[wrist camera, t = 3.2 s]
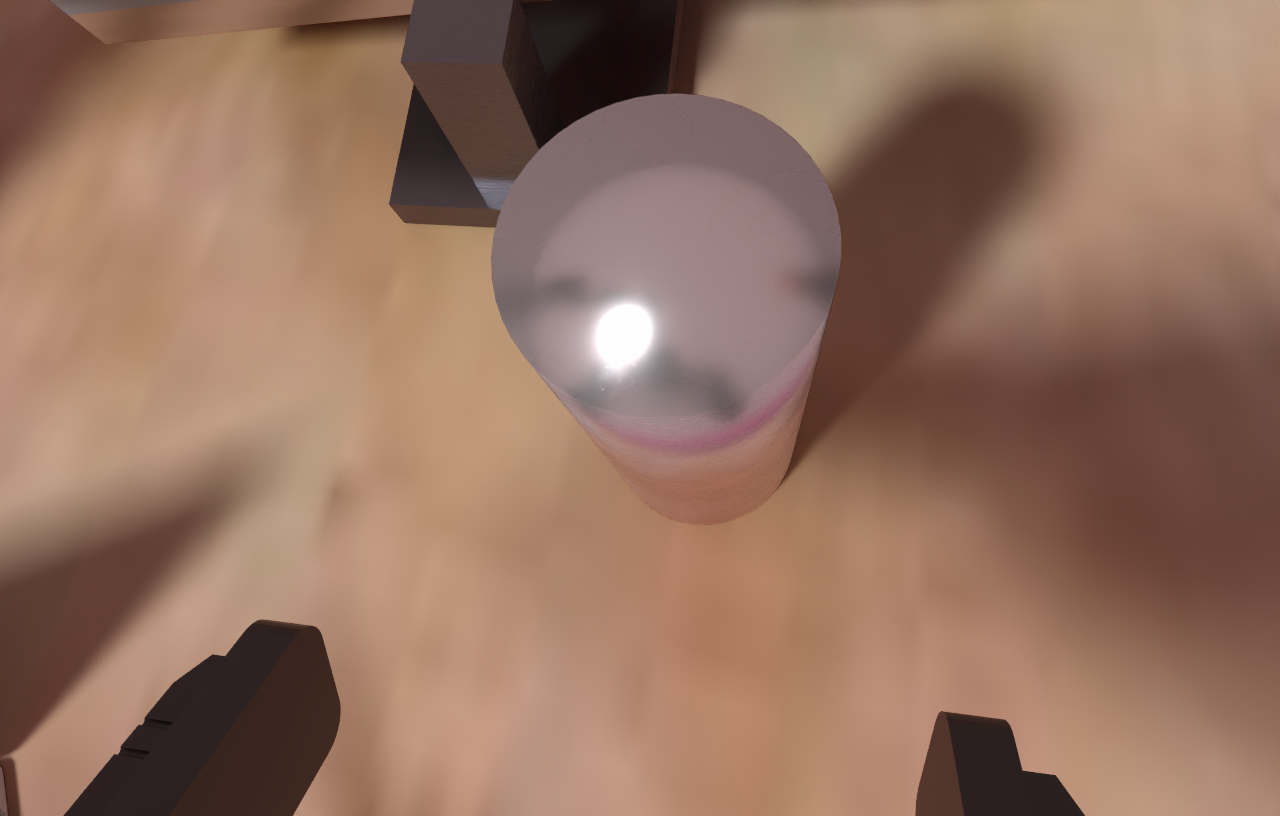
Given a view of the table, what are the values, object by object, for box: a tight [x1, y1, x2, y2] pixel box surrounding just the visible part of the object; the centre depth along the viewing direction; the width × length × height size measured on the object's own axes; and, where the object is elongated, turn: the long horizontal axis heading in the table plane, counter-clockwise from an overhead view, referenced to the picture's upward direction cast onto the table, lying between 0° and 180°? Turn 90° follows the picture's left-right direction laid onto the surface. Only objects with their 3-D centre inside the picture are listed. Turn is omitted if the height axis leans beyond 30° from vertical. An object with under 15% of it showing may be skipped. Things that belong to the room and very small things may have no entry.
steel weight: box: [491, 94, 841, 525], centre depth 18 cm, size 5×5×12 cm
